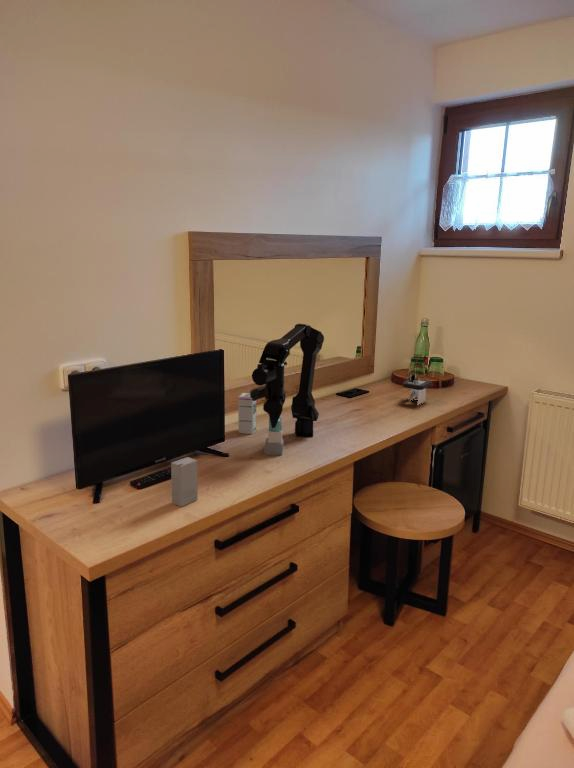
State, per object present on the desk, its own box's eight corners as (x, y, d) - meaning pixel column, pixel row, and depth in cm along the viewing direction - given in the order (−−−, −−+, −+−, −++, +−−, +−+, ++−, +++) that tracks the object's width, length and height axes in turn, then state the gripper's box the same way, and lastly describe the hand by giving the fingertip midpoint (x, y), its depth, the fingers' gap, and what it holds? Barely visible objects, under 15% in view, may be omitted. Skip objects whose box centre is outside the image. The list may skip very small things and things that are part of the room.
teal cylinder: (282, 428, 201) (282, 417, 200) (281, 432, 197) (281, 421, 196) (269, 427, 202) (269, 416, 201) (268, 431, 197) (268, 420, 196)
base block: (283, 449, 204) (283, 438, 203) (282, 455, 198) (282, 444, 197) (266, 448, 204) (266, 437, 203) (264, 454, 198) (264, 443, 197)
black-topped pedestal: (400, 392, 287) (402, 366, 284) (451, 402, 272) (454, 374, 269) (374, 404, 264) (376, 376, 261) (429, 415, 250) (432, 385, 247)
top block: (281, 438, 203) (282, 428, 202) (281, 443, 198) (281, 432, 197) (268, 438, 203) (269, 427, 202) (268, 442, 198) (268, 431, 197)
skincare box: (187, 496, 164) (187, 455, 161) (198, 500, 162) (198, 460, 159) (170, 502, 160) (169, 461, 157) (181, 508, 157) (180, 466, 154)
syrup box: (253, 434, 218) (253, 397, 214) (237, 433, 219) (238, 396, 215) (256, 429, 223) (257, 393, 220) (241, 428, 224) (242, 392, 221)
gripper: (255, 372, 204) (254, 414, 208) (248, 385, 186) (247, 431, 190) (286, 373, 204) (285, 416, 208) (282, 386, 186) (281, 433, 190)
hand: (274, 423), depth 199 cm, fingers open, 8 cm apart
